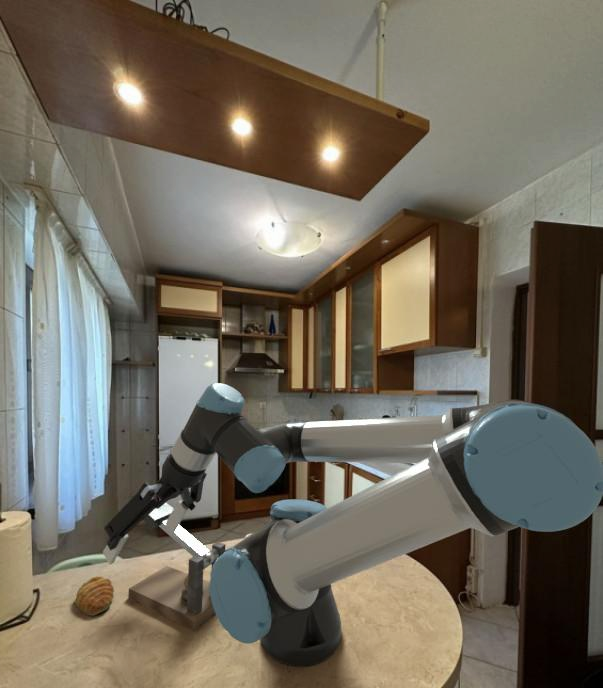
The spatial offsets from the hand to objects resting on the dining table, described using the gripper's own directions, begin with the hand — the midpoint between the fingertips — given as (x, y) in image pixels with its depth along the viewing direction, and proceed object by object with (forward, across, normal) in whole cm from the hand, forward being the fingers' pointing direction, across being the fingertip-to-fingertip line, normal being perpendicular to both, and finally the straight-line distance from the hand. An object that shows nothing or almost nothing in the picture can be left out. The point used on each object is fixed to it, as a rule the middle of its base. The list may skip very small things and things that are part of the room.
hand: (141, 541), depth 65 cm
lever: (+3, -9, +2) cm, 10 cm away
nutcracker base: (+12, -9, +10) cm, 18 cm away
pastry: (+21, 0, -2) cm, 21 cm away
